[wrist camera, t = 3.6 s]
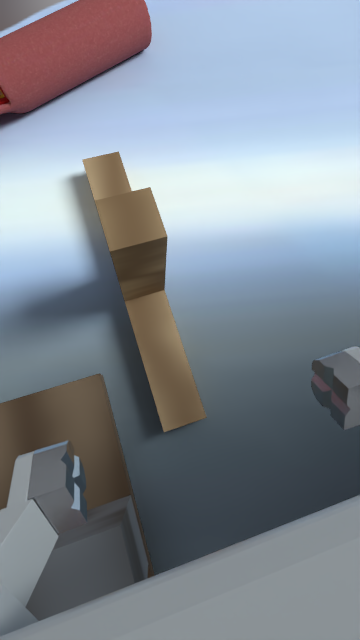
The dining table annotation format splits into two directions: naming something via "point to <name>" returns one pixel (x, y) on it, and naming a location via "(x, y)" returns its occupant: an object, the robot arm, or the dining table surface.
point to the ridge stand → (101, 494)
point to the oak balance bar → (145, 287)
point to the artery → (69, 50)
